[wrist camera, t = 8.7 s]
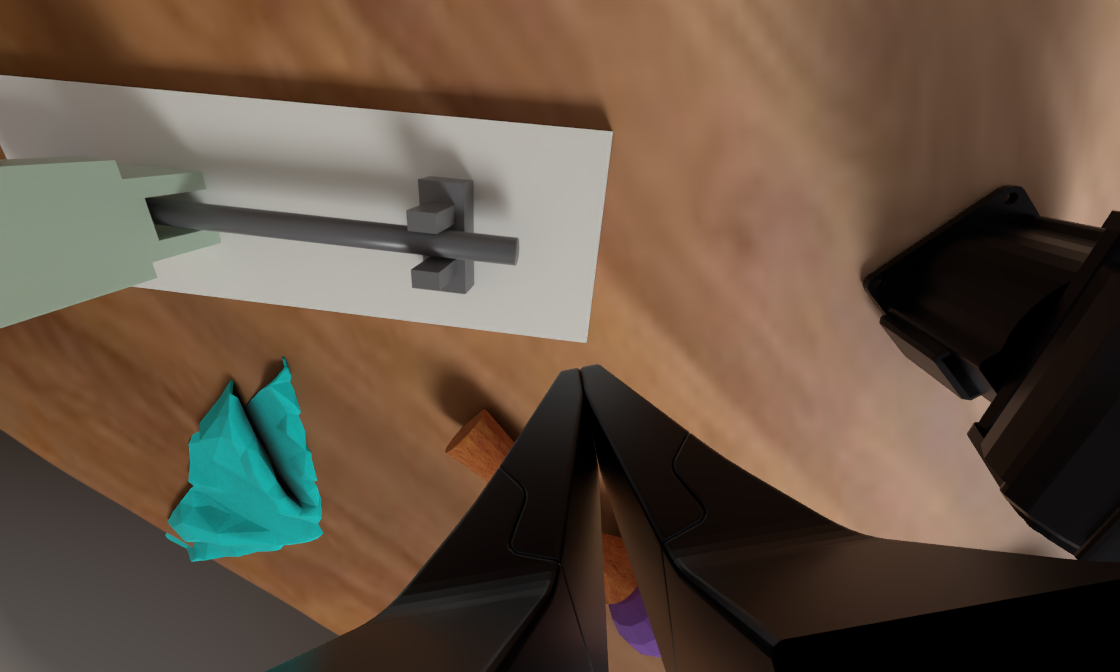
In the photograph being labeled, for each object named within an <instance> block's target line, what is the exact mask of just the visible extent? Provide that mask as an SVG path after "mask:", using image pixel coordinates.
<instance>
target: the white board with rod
mask: <svg viewBox="0 0 1120 672" xmlns="http://www.w3.org/2000/svg"><path fill="white" fill-rule="evenodd" d="M612 135H613V132H612V131H602V130H591V129H580V128H569V127H558V126H548V125H537V124H526V123H515V122H504V121H493V120H483V119H472V118H461V117H450V116H439V115H428V114H418V113H407V112H396V111H385V110H374V109H363V108H353V107H342V106H331V105H320V104H309V103H299V102H288V101H277V100H266V99H255V98H244V97H234V96H223V95H212V94H201V93H190V92H179V91H169V90H158V89H147V88H136V87H125V86H114V85H104V84H93V83H82V82H71V81H60V80H50V79H39V78H28V77H17V76H6V75H0V145H1V147H2V149H3V151H4V154H5V156H6V158H7V159H25V158H48V157H70V156H81V157H90V158H100V159H110V160H115V161H116V163H117V164H121V163H125V164H135V165H144V166H154V167H163V168H173V169H182V170H192V171H201V172H202V175H203V178H204V182H205V186H206V189H205V190H198V191H191V192H183V193H176V194H169V195H162V196H155V197H148V198H145V201H146V204H147V207H148V210H149V213H150V215H151V218H152V221H153V224H154V225H163V226H172V227H180V228H189V229H198V230H207V231H215V232H219V236H220V239H221V243H219V244H215V245H212V246H208V247H205V248H201V249H198V250H194V251H191V252H187V253H183V254H180V255H176V256H173V257H169V258H166V259H162V260H159V261H155V262H152V263H153V266H154V269H155V272H156V274H157V277H158V278H156V279H152V280H149V281H146V282H143V283H140V284H137V285H134V286H133V287H141V288H149V289H157V290H165V291H173V292H181V293H189V294H197V295H205V296H213V297H221V298H229V299H237V300H245V301H253V302H261V303H269V304H277V305H285V306H293V307H301V308H309V309H317V310H325V311H333V312H341V313H349V314H358V315H366V316H374V317H382V318H390V319H398V320H406V321H414V322H422V323H430V324H438V325H446V326H454V327H462V328H470V329H478V330H486V331H494V332H502V333H510V334H518V335H526V336H534V337H542V338H550V339H558V340H566V341H574V342H582V343H587V335H588V327H589V319H590V311H591V303H592V295H593V287H594V279H595V271H596V263H597V255H598V247H599V239H600V231H601V223H602V215H603V207H604V199H605V191H606V183H607V175H608V167H609V159H610V151H611V143H612Z"/></svg>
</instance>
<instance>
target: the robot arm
mask: <svg viewBox="0 0 1120 672" xmlns="http://www.w3.org/2000/svg"><path fill="white" fill-rule="evenodd" d="M1009 193H1010V197H1009V199H1008V200H1007V201H1006V202H1005V203H1004V198H1005V197H1006V196H1007V195H1008V194H1009ZM878 280H881V282H880V284H879V285H878V286H877V287H875V288H874V287H873V286H874V283H875V282H876V281H878ZM863 287H864V290H865V291H866V292H867V293H868V295H869V296H870V297H871V299H872V300H873V301H874V303H875V304H876V305H877V306H878V308H879V309H880V310H881V312H882V313H883V314H884V315H883V316H882V317H880V325H881V326H882V327H883V329H884V330H885V331H886V332H887V334H888V335H889V336H890V338H891V339H892V340H893V341H894V343H895V344H896V345H897V347H898V348H899V349H900V350H901V352H902V353H903V354H904V355H905V356H906V357H907V358H908V359H910V360H911V361H912V362H914V363H915V364H916V365H918V366H919V367H920V368H922V369H923V370H924V371H925V372H927V373H928V374H929V375H931V376H932V377H933V378H935V379H936V380H937V381H939V382H940V383H941V384H942V385H944V386H945V387H946V388H948V389H949V390H950V391H952V392H953V393H954V394H956V395H957V396H958V397H960V398H961V399H965V400H973V399H975V398H977V397H978V396H980V395H982V396H983V397H984V398H986V399H987V400H989V401H990V402H991V404H990V406H989V407H988V409H987V410H986V412H985V413H984V415H983V416H982V418H981V419H980V421H979V422H975V423H974V424H973V425H972V427H971V428H970V430H969V431H968V433H967V435H968V437H969V439H970V440H971V442H972V443H973V445H974V447H975V448H976V450H977V451H978V453H979V455H980V456H981V458H982V460H983V461H984V463H985V464H986V466H987V468H988V469H989V471H990V472H991V474H992V476H993V477H994V479H995V480H996V482H997V484H998V485H999V487H1000V491H1001V493H1002V494H1003V496H1004V497H1005V499H1006V500H1007V501H1008V502H1009V503H1010V505H1011V506H1012V507H1013V508H1014V510H1015V511H1016V512H1017V513H1018V515H1019V516H1021V517H1022V518H1023V519H1024V520H1025V522H1026V523H1027V524H1028V525H1029V527H1031V528H1032V529H1033V530H1035V531H1037V532H1039V533H1040V534H1042V535H1043V536H1044V537H1046V538H1047V539H1048V540H1050V541H1052V542H1053V543H1055V544H1056V545H1058V546H1059V547H1061V548H1063V549H1064V550H1066V551H1067V552H1069V553H1071V554H1073V555H1074V556H1075V558H1076V559H1077V560H1072V559H1062V558H1053V557H1044V556H1035V555H1026V554H1017V553H1008V552H999V551H990V550H981V549H972V548H963V547H954V546H945V545H936V544H927V543H918V542H909V541H900V540H891V539H883V538H877V537H873V536H869V535H865V534H862V533H859V532H856V531H853V530H850V529H848V528H846V527H844V526H841V525H839V524H837V523H835V522H833V521H831V520H829V519H828V518H826V517H824V516H822V515H820V514H819V513H817V512H815V511H813V510H812V509H810V508H808V507H807V506H805V505H803V504H802V503H800V502H798V501H796V500H795V499H793V498H791V497H790V496H788V495H786V494H784V493H783V492H781V491H779V490H778V489H776V488H774V487H773V486H771V485H769V484H767V483H766V482H764V481H762V480H761V479H759V478H757V477H755V476H754V475H752V474H750V473H749V472H747V471H746V470H744V469H742V468H741V467H739V466H737V465H736V464H734V463H733V462H731V461H729V460H728V459H726V458H725V457H723V456H722V455H720V454H719V453H718V452H716V451H715V450H713V449H712V448H710V447H709V446H708V445H706V444H705V443H703V442H702V441H701V440H699V439H698V438H697V437H695V436H694V435H693V434H689V432H688V431H687V430H686V429H684V428H683V427H682V426H680V425H679V424H678V423H676V422H675V421H674V420H672V419H671V418H670V417H668V416H667V415H666V414H664V413H663V412H662V411H660V410H659V409H658V408H656V407H655V406H654V405H652V404H651V403H650V402H648V401H647V400H646V399H644V398H643V397H642V396H640V395H639V394H638V393H636V392H635V391H634V390H632V389H631V388H630V387H628V386H627V385H626V384H624V383H623V382H622V381H620V380H619V379H618V378H616V377H615V376H614V375H612V374H611V373H610V372H608V371H607V370H606V369H604V368H603V367H602V366H600V365H598V364H596V365H590V366H585V367H582V368H581V372H580V370H579V369H578V368H575V369H569V370H564V371H561V372H560V373H559V375H558V376H557V378H556V380H555V381H554V383H553V384H552V386H551V387H550V389H549V390H548V392H547V393H546V395H545V397H544V398H543V400H542V401H541V403H540V404H539V406H538V407H537V409H536V410H535V412H534V414H533V415H532V417H531V418H530V420H529V421H528V423H527V424H526V426H525V427H524V429H523V430H522V432H521V434H520V435H519V437H518V438H517V440H516V441H515V443H514V444H513V446H512V447H511V449H510V451H509V452H508V454H507V455H506V457H505V458H504V460H503V461H502V463H501V464H500V468H498V469H497V470H496V472H495V473H494V475H493V476H492V478H491V480H490V481H489V483H488V484H487V485H486V487H485V488H484V490H483V491H482V493H481V494H480V496H479V497H478V498H477V500H476V501H475V503H474V504H473V505H472V507H471V508H470V509H469V510H468V512H467V513H466V514H465V516H464V517H463V518H462V519H461V521H460V522H459V523H458V525H457V526H456V527H455V528H454V530H453V531H452V532H451V533H450V534H449V536H448V537H447V538H446V539H445V541H444V542H443V543H442V544H441V545H440V547H439V548H438V549H437V550H436V552H435V553H434V554H433V555H432V556H431V558H430V559H429V560H428V561H427V562H426V564H425V565H424V566H423V567H422V569H421V570H420V571H419V572H418V573H417V575H416V576H415V577H414V578H413V580H412V581H411V582H410V583H409V584H408V586H407V587H406V588H405V589H404V590H403V591H402V593H401V594H400V595H399V596H398V597H397V598H396V599H395V600H394V601H393V602H392V603H391V604H390V605H389V606H388V607H387V608H386V609H384V610H383V611H382V612H381V613H380V614H378V615H377V616H376V617H374V618H373V619H371V620H370V621H368V622H367V623H365V624H363V625H361V626H360V627H358V628H356V629H354V630H352V631H349V632H347V633H345V634H343V635H341V636H339V637H337V638H335V639H333V640H331V641H329V642H326V643H325V644H322V645H320V646H318V647H316V648H314V649H312V650H310V651H308V652H305V653H303V654H301V655H300V656H297V657H295V658H293V659H291V660H289V661H287V662H285V663H283V664H280V665H278V666H276V667H274V668H272V669H270V670H268V671H266V672H609V671H608V650H607V630H606V609H605V588H604V568H603V547H602V526H601V506H600V485H599V470H598V464H599V468H600V472H601V475H602V479H603V482H604V485H605V488H606V491H607V494H608V497H609V500H610V503H611V506H612V509H613V512H614V515H615V518H616V521H617V524H618V527H619V530H620V533H621V536H622V539H623V542H624V545H625V548H626V551H627V554H628V557H629V561H630V564H631V567H632V570H633V573H634V576H635V579H636V582H637V585H638V588H639V591H640V594H641V597H642V600H643V603H644V606H645V609H646V612H647V615H648V618H649V621H650V624H651V627H652V630H653V633H654V636H655V639H656V642H657V646H658V649H659V652H660V655H661V658H662V661H663V664H664V667H665V670H666V672H1120V211H1112V212H1111V213H1110V215H1109V216H1108V218H1107V219H1106V221H1105V222H1104V224H1103V225H1102V227H1101V228H1100V227H1095V226H1090V225H1085V224H1079V223H1074V222H1069V221H1064V220H1059V219H1054V218H1049V217H1044V216H1040V215H1039V214H1038V212H1037V210H1036V208H1035V207H1034V205H1033V203H1032V202H1031V200H1030V198H1029V197H1028V195H1027V193H1026V191H1025V190H1024V189H1023V188H1022V187H1019V186H1013V185H1005V186H1002V187H1000V188H998V189H996V190H995V191H993V192H992V193H990V194H989V195H987V196H986V197H984V198H983V199H981V200H980V201H978V202H977V203H975V204H974V205H972V206H971V207H969V208H968V209H966V210H965V211H963V212H962V213H960V214H959V215H957V216H956V217H954V218H953V219H951V220H950V221H949V222H947V223H946V224H944V225H943V226H941V227H940V228H938V229H937V230H935V231H934V232H932V233H931V234H929V235H928V236H926V237H925V238H923V239H922V240H920V241H919V242H917V243H916V244H914V245H913V246H911V247H910V248H908V249H907V250H905V251H904V252H902V253H901V254H900V255H898V256H897V257H895V258H894V259H892V260H891V261H889V262H888V263H886V264H885V265H883V266H882V267H880V268H879V269H877V270H876V271H874V272H873V273H871V274H870V275H868V276H867V277H866V278H865V280H864V282H863ZM595 450H596V451H595ZM596 455H597V456H596ZM597 460H598V462H597Z"/></svg>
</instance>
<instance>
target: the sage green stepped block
mask: <svg viewBox="0 0 1120 672" xmlns="http://www.w3.org/2000/svg"><path fill="white" fill-rule="evenodd" d="M205 189H206V186H205V182H204V178H203V175H202V172H201V171H192V170H182V169H173V168H163V167H154V166H144V165H135V164H125V163H121V164H117V163H116V161H115V160H110V159H100V158H90V157H81V156H70V157H48V158H25V159H3V160H0V328H3V327H6V326H9V325H12V324H15V323H18V322H21V321H25V320H28V319H31V318H34V317H37V316H40V315H43V314H46V313H49V312H53V311H56V310H59V309H62V308H65V307H68V306H71V305H74V304H78V303H81V302H84V301H87V300H90V299H93V298H96V297H99V296H103V295H106V294H109V293H112V292H115V291H118V290H121V289H124V288H127V287H131V286H134V285H137V284H140V283H143V282H146V281H149V280H152V279H156V278H158V277H157V274H156V272H155V269H154V266H153V263H152V262H155V261H159V260H162V259H166V258H169V257H173V256H176V255H180V254H183V253H187V252H191V251H194V250H198V249H201V248H205V247H208V246H212V245H215V244H219V243H221V239H220V236H219V232H215V231H207V230H198V229H189V228H180V227H172V226H163V225H154V224H153V221H152V218H151V215H150V213H149V210H148V207H147V204H146V201H145V198H148V197H155V196H162V195H169V194H176V193H183V192H191V191H198V190H205Z"/></svg>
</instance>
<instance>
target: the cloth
mask: <svg viewBox="0 0 1120 672" xmlns="http://www.w3.org/2000/svg"><path fill="white" fill-rule="evenodd" d="M282 358H283V363H284V369H283V370H282V371H281V372H280V373H279V374H278V376H277V377H276V378H275V379H274V380H273V381H272V382H271V383H269V384H268V385H267V386H265V387H264V388H263V389H262V390H260V391H259V392H258V394H257V395H256V396H255V397H254V398H253V399H252V400H251V401H250V402H249V403H248V404H247V406H246V407H245V408H244V409H245V411H246V413H247V415H248V417H249V419H250V421H251V423H252V425H253V427H254V429H255V431H256V433H257V435H258V438H259V440H260V442H261V443H260V442H259V440H258V438H257V436H256V435H255V433H254V431H253V429H252V427H251V425H250V423H249V421H248V419H247V416H246V414H245V412H244V410H243V408H242V406H241V403H240V401H239V399H238V398H237V397H235V396H233V394H232V390H233V381H232V380H230V382H229V383H228V385H227V387H226V388H225V390H224V392H223V394H222V395H221V397H220V398H219V399H218V400H217V402H216V403H215V404H214V406H213V407H212V408H211V409H210V411H209V412H208V413H207V414H206V416H205V417H204V418H203V419H202V421H201V422H200V431H199V432H197V433H195V434H193V435H192V438H191V440H190V442H189V454H190V469H189V483H191V484H192V485H194V486H193V487H192V488H191V489H190V490H189V491H188V493H187V494H186V495H185V497H184V498H183V499H182V501H181V502H180V503H179V505H178V506H177V507H176V508H175V510H174V511H173V513H172V515H171V517H170V519H169V520H168V523H169V525H170V526H171V527H172V528H173V529H174V530H175V531H176V532H177V533H178V534H179V535H180V536H181V538H182V539H183V540H184V541H185V542H195V543H194V544H193V547H191V546H189V545H188V544H186V543H184V542H182V541H180V540H179V539H177V538H175V537H173V536H171V535H170V534H168V533H166V535H165V536H166V537H167V538H168V539H169V540H171V541H173V542H175V543H177V544H179V545H180V546H182V547H184V548H186V549H187V551H188V554H189V557H190V560H191V561H201V560H208V559H214V558H220V557H226V556H231V557H238V556H242V555H246V554H250V553H254V552H259V551H276V550H279V549H281V548H282V547H283V545H291V544H298V543H305V542H309V541H312V540H315V539H317V538H318V537H320V536H321V535H322V534H323V532H322V530H321V528H320V526H319V524H318V522H319V521H320V520H321V518H322V513H321V496H319V492H318V488H317V486H316V484H315V483H314V481H317V478H316V474H315V470H314V466H313V462H312V457H311V452H310V450H309V449H308V447H307V445H306V434H305V430H304V428H303V425H302V423H301V421H300V418H299V416H298V415H299V414H300V412H301V411H300V408H299V405H298V402H297V398H296V395H295V392H294V389H293V387H292V385H291V383H290V380H291V373H290V370H289V367H288V364H287V361H286V358H285V357H284V356H282ZM261 444H262V445H261ZM262 446H263V447H262ZM275 475H276V476H277V477H278V479H279V480H277V479H276V477H275Z"/></svg>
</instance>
